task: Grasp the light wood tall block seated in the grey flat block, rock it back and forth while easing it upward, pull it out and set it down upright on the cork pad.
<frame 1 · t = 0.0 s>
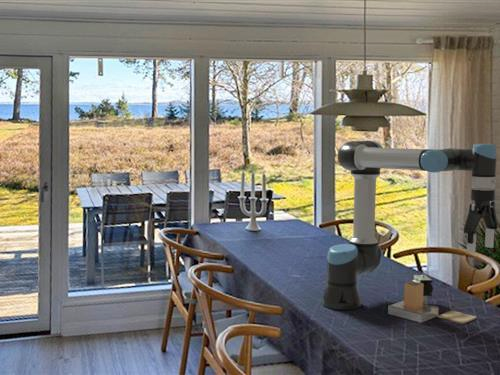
hand: (480, 250, 199), 28 cm above the table, fingers open, 13 cm apart
pad: (457, 317, 213), on the table
grey flat block: (413, 314, 217), on the table
pneumatic valve: (420, 304, 230), on the table
light wood tall block: (413, 299, 216), in the grey flat block
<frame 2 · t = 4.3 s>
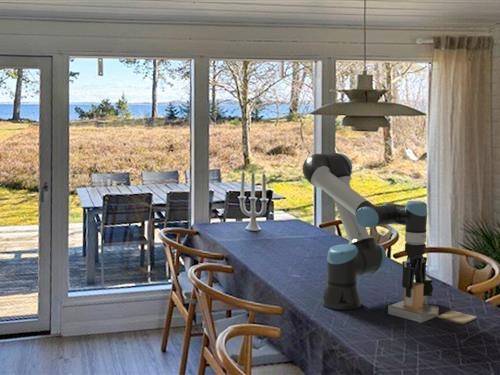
hand: (413, 303, 216), 4 cm above the table, fingers closed on light wood tall block, 5 cm apart
light wood tall block: (413, 298, 216), in the grey flat block, touching gripper
everything else where it was.
when the fingers open (5 cm above the table, at t = 11.9 s): light wood tall block stays where it is, resting on pad.
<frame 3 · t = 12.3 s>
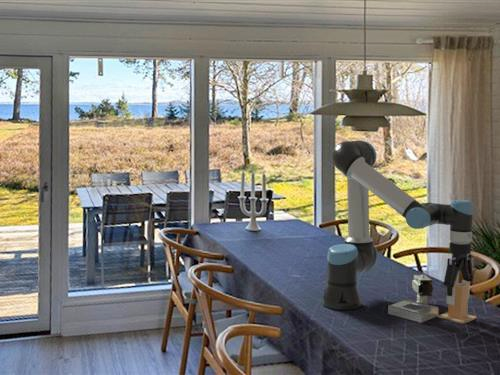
hand: (457, 301, 213), 6 cm above the table, fingers open, 10 cm apart
light wood tall block: (458, 300, 213), on the pad, point 7 cm above the table
everything else where it was.
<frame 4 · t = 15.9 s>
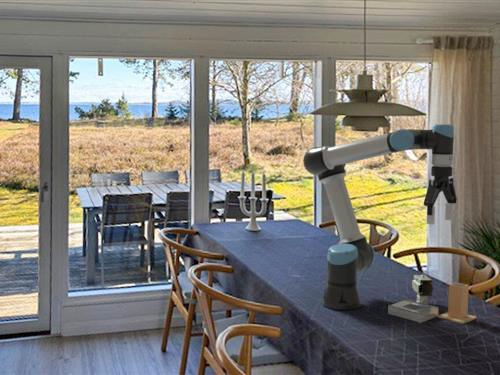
hand: (439, 222, 217), 35 cm above the table, fingers open, 13 cm apart
nothing on the table moved.
at the end: light wood tall block inside the target area on the pad (0.1 cm from its centre), point 6.7 cm above the pad's base; light wood tall block tilted 0°; the gripper is holding nothing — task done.
